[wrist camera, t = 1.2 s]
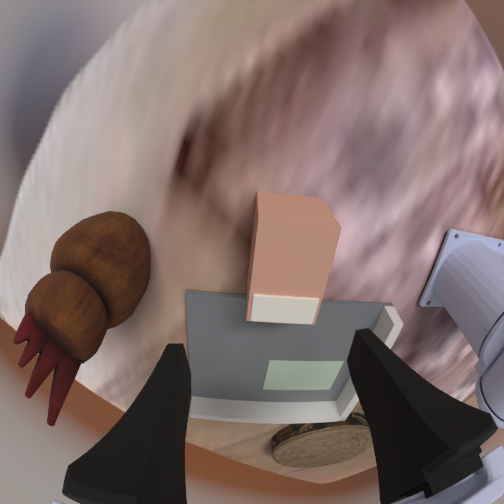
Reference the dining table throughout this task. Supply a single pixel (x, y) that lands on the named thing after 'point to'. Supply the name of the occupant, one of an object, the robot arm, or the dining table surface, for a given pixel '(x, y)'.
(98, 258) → the wooden figurine
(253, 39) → the dining table surface
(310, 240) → the terracotta block
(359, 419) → the wooden log slice
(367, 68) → the dining table surface
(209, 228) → the dining table surface
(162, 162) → the dining table surface
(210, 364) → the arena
